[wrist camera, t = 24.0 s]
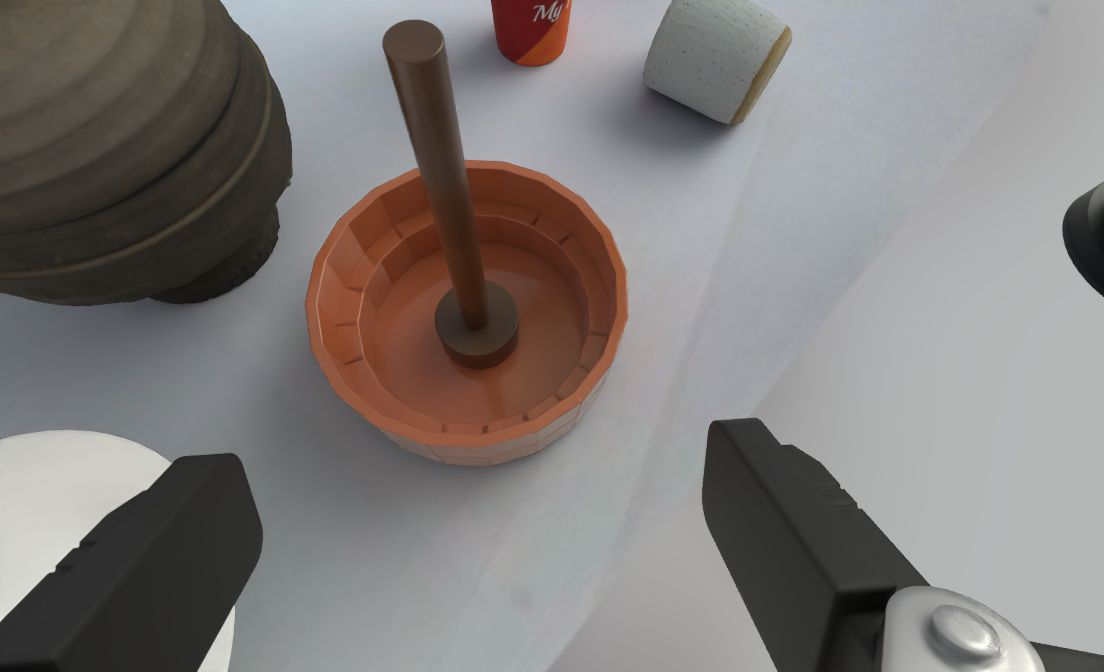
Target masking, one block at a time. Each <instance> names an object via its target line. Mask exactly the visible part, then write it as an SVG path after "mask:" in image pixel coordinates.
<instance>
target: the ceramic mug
mask: <svg viewBox="0 0 1104 672" xmlns="http://www.w3.org/2000/svg"><path fill="white" fill-rule="evenodd" d="M791 40H792V33H791V30H790V28H789V27H788V26H787V25H786V24H785V23H783V22H782V21H781V20H780V19H779V18H778V17H776V16H775V15H773V14H772V13H770V12H768V11H767V10H765V9H762V8H760V7H758V6H756V5H754V4H753V3H751V2H749V1H747V0H673V1H672V2H671V4H670V6H669V7H668V9H667V11H666V13H665V15H664V17H663V19H662V22H661V24H660V26H659V28H658V30H657V32H656V34H655V37H654V39H653V42H652V45H651V47H650V50H649V53H648V57H647V60H646V63H645V67H644V72H643V83H644V84H645V85H646V86H648V87H649V88H651V89H654V90H656V91H658V92H660V93H662V94H664V95H666V96H668V97H670V98H672V99H674V100H675V101H677V102H679V103H681V104H684V105H686V106H688V107H690V108H692V109H694V110H696V111H698V112H700V113H702V114H704V115H706V116H708V117H710V118H712V119H714V120H716V121H719V122H722V123H725V124H729V125H736V124H739V123H741V122H743V121H744V119H745V118H746V117H747V115H748V114H749V112H750V111H751V109H752V108H753V106H754V105H755V103H756V101H757V100H758V98H759V97H760V95H761V93H762V92H763V90H764V89H765V87H766V85H767V84H768V82H769V80H770V79H771V77H772V75H773V74H774V72H775V70H776V69H777V67H778V65H779V64H780V62H781V60H782V58H783V56H784V55H785V53H786V51H787V49H788V47H789V45H790V43H791Z"/></svg>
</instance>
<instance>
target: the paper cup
mask: <svg viewBox="0 0 1104 672" xmlns="http://www.w3.org/2000/svg"><path fill="white" fill-rule="evenodd" d="M571 3H572V0H491V5H492V12H493V20H494V26H495V33H496V39H497V44H498V47H499V49H500V51H501V53H502V54H503V55H504V56H505V57H506V58H507V59H509V60H511V61H512V62H515V63H517V64H520V65H525V66H540V65H544V64H547V63H550V62H552V61H554V60H555V59H556V58H558V57H559V56H560V54H561V53H562V52H563V49H564V46H565V42H566V37H567V31H568V24H569V17H570V10H571Z"/></svg>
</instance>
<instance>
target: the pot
mask: <svg viewBox="0 0 1104 672" xmlns="http://www.w3.org/2000/svg"><path fill="white" fill-rule="evenodd" d="M292 171H293V170H292V142H291V134H290V129H289V126H288V123H287V119H286V112H285V107H284V104H283V100H282V97H281V94H280V92H279V90H278V87H277V85H276V83H275V82H274V80H273V78H272V77H271V75H270V73H269V69H268V67H267V64H266V61H265V59H264V56H263V54H262V53H261V51H260V49H259V48H258V46H257V44H256V43H255V42H254V41H253V40H252V38H251V37H250V36H249V35H248V34H247V33H246V32H244V31H243V30H242V29H241V28H240V27H239V26H238V24H236V23H235V22H234V21H233V19H232V18H231V17H230V16H229V14H228V12H227V10H226V8H225V7H224V5H223V4H222V3H221V1H220V0H0V293H5V294H10V295H13V296H19V297H23V298H26V299H29V300H34V301H39V302H43V303H50V304H56V305H69V306H92V305H102V304H110V303H119V302H124V303H126V302H135V301H137V300H140V299H144V298H147V297H149V298H151V299H154V300H157V301H158V300H160V301H162V302H166V303H172V304H186V303H189V304H191V303H199V302H202V301H207V300H208V299H210V298H215V297H217V296H219V295H222V294H224V293H226V292H228V291H230V290H232V289H233V288H234V287H236V286H239V285H240V284H242V283H243V282H245V281H246V280H247V279H249V278H251V277H252V276H253V275H255V272H257V271H258V270H259V268H260V267H261V266H262V265H263V264H264V263H265V262H266V260H267V259H268V258H269V256H270V254H271V253H272V252H273V248H274V247H275V244H276V242H277V240H278V236H277V233H278V230H279V228H280V225H279V220H278V212H277V208H276V206H275V204H276V203H277V201H278V199H279V197H280V196H281V195H282V193H283V191H284V190H285V189H286V187H288V186H290V184H291V183H290V178H291V177H292V174H293V173H292Z"/></svg>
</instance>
